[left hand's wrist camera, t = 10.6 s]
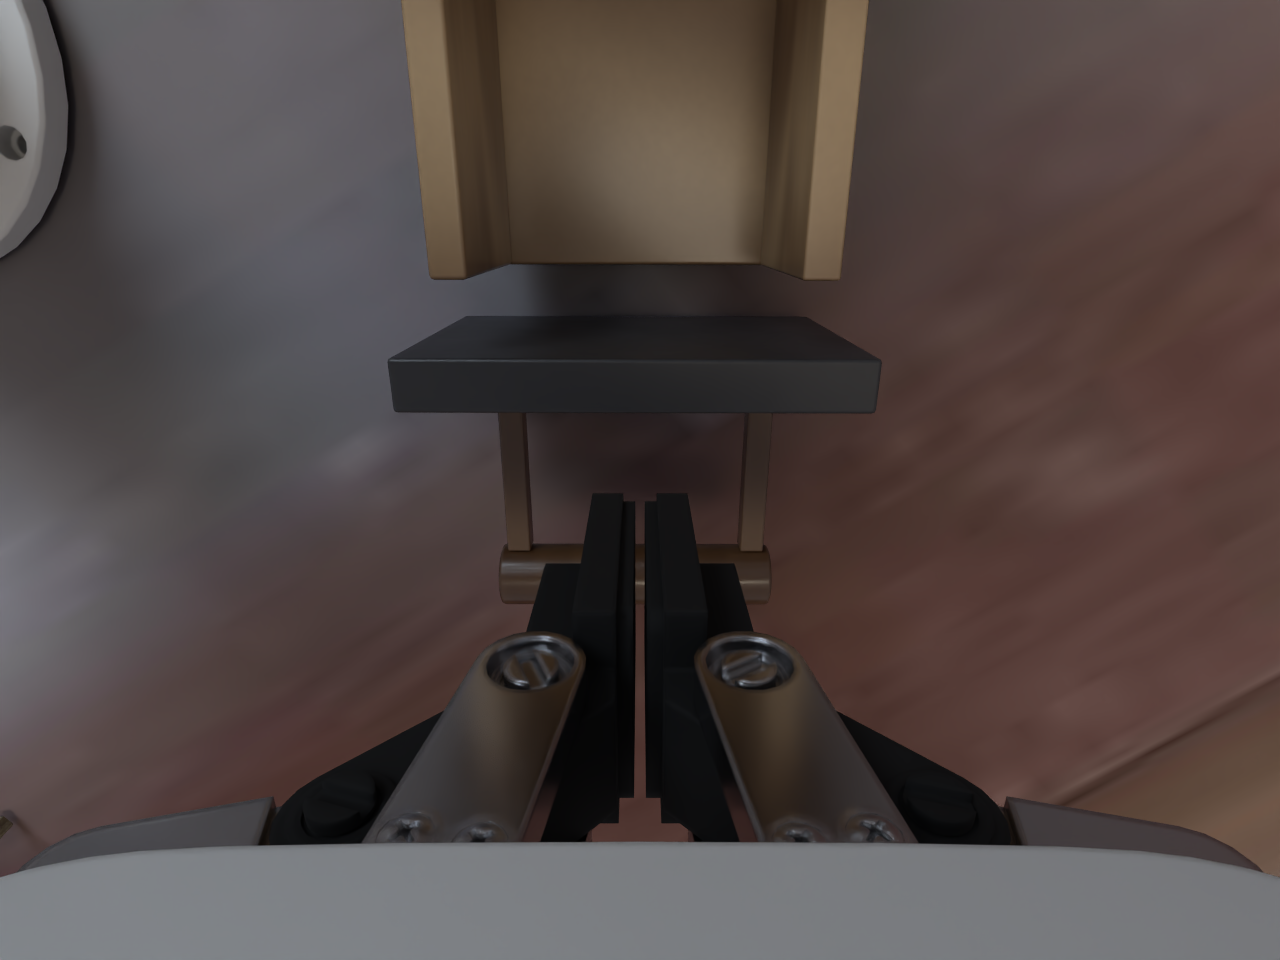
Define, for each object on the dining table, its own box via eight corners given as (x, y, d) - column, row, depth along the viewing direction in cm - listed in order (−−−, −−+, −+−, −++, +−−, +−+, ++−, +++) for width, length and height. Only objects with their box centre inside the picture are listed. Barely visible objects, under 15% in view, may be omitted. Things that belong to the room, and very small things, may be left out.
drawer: (789, 524, 23) (847, 640, 17) (482, 523, 23) (422, 640, 17) (864, -325, 16) (1021, -707, 9) (409, -327, 16) (247, -710, 9)
